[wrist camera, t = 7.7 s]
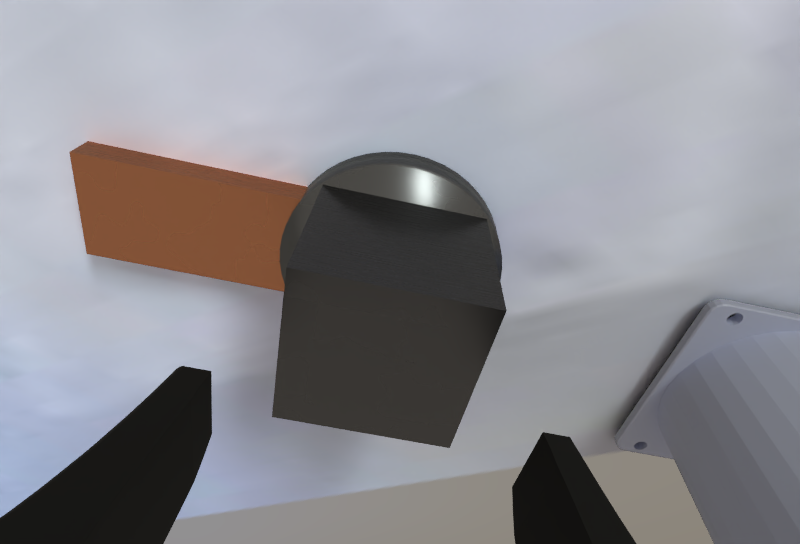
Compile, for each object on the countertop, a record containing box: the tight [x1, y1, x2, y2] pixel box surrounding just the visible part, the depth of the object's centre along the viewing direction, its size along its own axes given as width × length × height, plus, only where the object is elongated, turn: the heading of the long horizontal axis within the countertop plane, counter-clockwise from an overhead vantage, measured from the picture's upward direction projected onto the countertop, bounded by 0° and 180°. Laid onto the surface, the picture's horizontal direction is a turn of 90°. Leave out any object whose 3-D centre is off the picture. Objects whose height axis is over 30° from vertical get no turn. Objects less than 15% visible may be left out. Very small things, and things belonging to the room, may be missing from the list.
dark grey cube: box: [272, 185, 506, 448], centre depth 14 cm, size 5×5×4 cm
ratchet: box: [70, 141, 502, 292], centre depth 15 cm, size 14×7×4 cm, turn 78°
